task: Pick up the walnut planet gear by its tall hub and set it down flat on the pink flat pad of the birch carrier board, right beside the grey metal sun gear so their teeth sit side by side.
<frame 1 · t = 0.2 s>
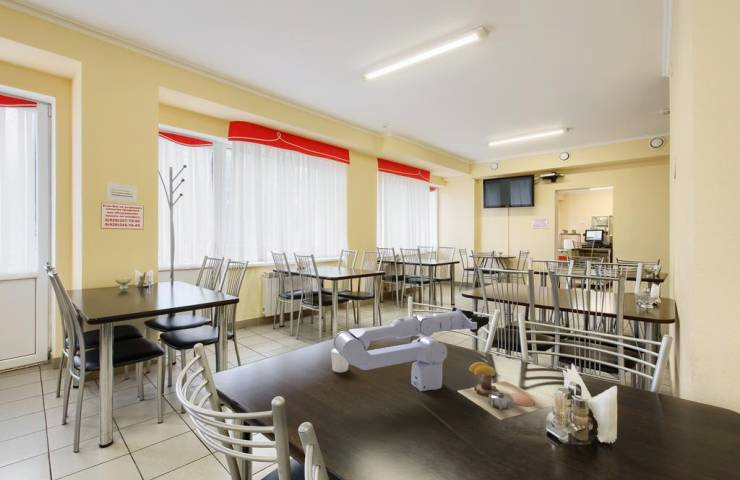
hand: (480, 317, 120), 21 cm above the table, tool horizontal, fingers open, 7 cm apart
planet gear: (486, 391, 108), point 1 cm above the table, touching carrier board
sun gear: (500, 404, 100), resting on carrier board
carrier board: (503, 401, 104), on the table
pink flat pad: (520, 400, 103), resting on carrier board
bread roll: (482, 375, 124), on the table
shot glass: (340, 369, 127), on the table
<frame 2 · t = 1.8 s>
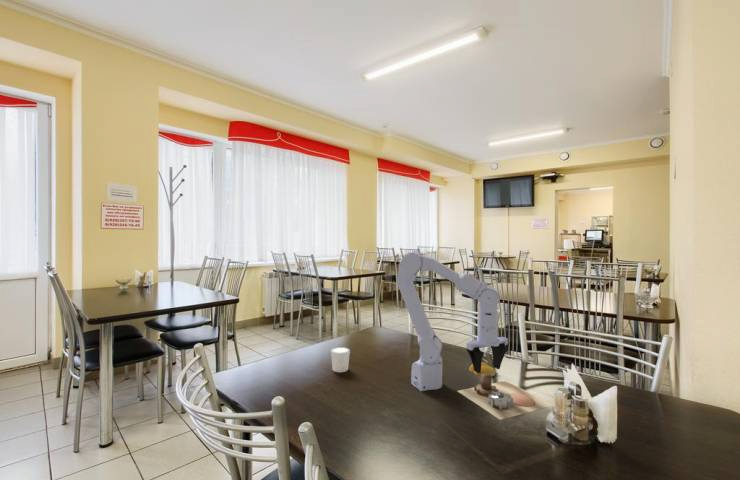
hand: (486, 369, 108), 8 cm above the table, tool pointing down, fingers open, 7 cm apart
nothing on the table moved.
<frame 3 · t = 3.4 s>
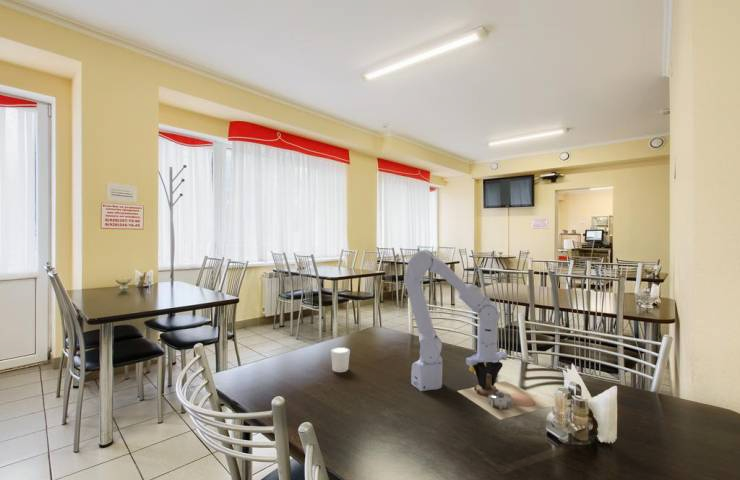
hand: (486, 385, 108), 3 cm above the table, tool pointing down, fingers closed on planet gear, 3 cm apart
planet gear: (486, 391, 108), point 1 cm above the table, touching carrier board, gripper
everything else where it was.
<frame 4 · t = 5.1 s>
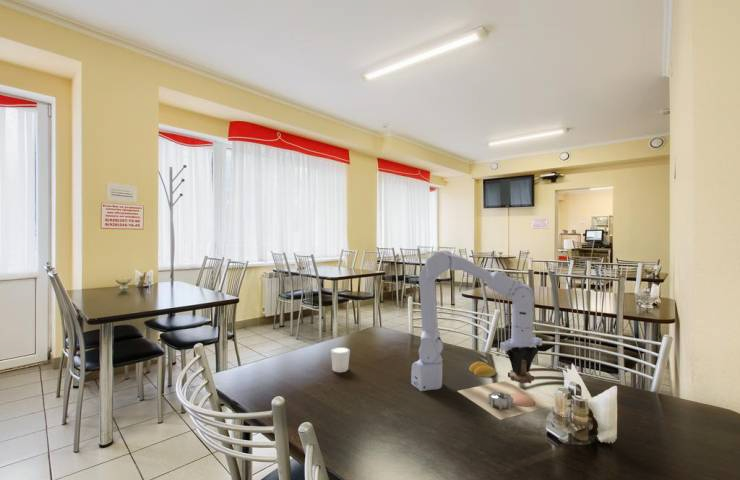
hand: (520, 371, 103), 9 cm above the table, tool pointing down, fingers closed on planet gear, 3 cm apart
planet gear: (520, 378, 103), point 7 cm above the table, touching gripper
everything else where it was.
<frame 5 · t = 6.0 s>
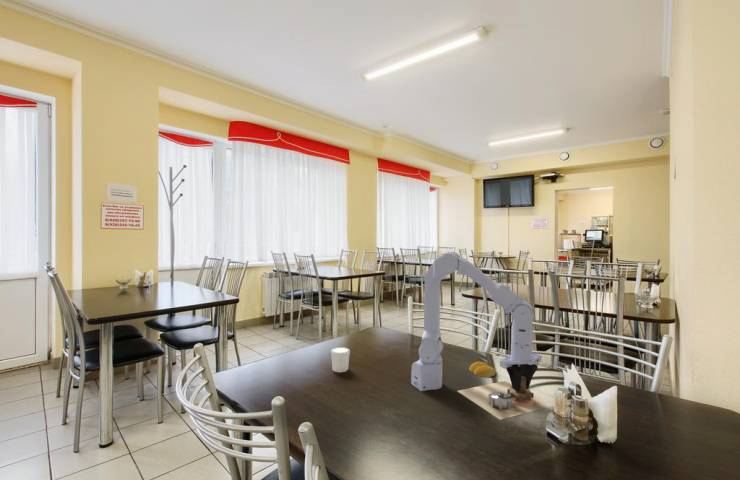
hand: (520, 388, 103), 4 cm above the table, tool pointing down, fingers closed on planet gear, 3 cm apart
planet gear: (520, 395, 103), point 2 cm above the table, touching gripper
everything else where it was.
when the fingers open (4 cm above the table, at t = 6.7 s): planet gear drops 1 cm, resting on pink flat pad.
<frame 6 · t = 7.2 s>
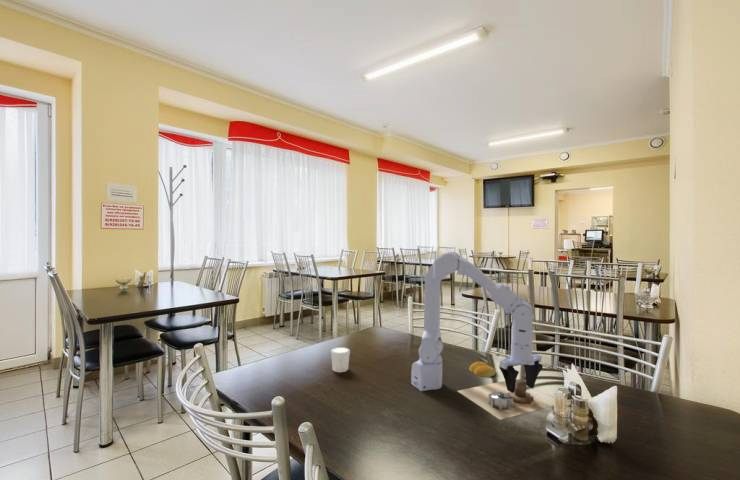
hand: (520, 389, 103), 4 cm above the table, tool pointing down, fingers open, 7 cm apart
planet gear: (520, 399, 103), point 1 cm above the table, touching pink flat pad
everything else where it was.
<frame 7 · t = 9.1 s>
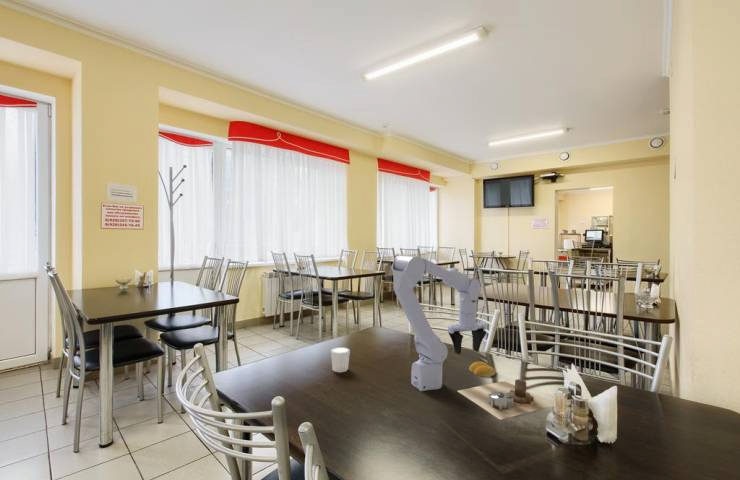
hand: (466, 352, 119), 9 cm above the table, tool pointing down, fingers open, 7 cm apart
nothing on the table moved.
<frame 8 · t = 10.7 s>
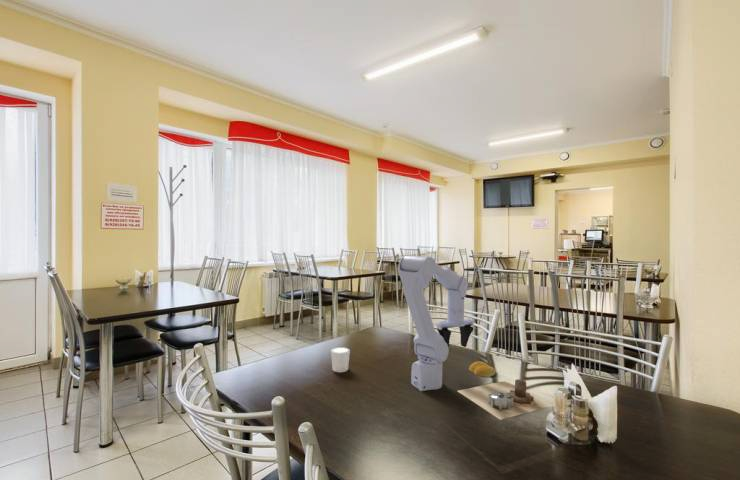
hand: (454, 347, 124), 9 cm above the table, tool pointing down, fingers open, 7 cm apart
nothing on the table moved.
at the end: planet gear 0.0 cm off-centre on the pink flat pad, point 0.3 cm above the pink flat pad's base; planet gear tilted 0°; the gripper is holding nothing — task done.
